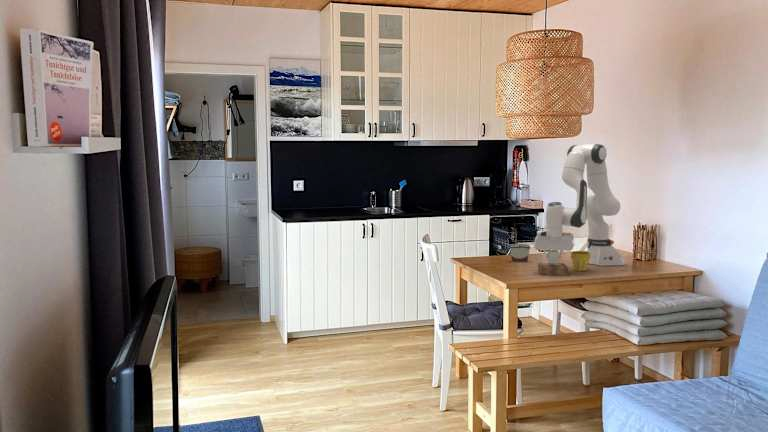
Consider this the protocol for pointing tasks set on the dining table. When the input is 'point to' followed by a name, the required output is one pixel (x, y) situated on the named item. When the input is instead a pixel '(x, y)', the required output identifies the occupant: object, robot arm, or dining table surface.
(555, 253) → the sage block
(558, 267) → the walnut base
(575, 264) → the plant pot
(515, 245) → the food container
